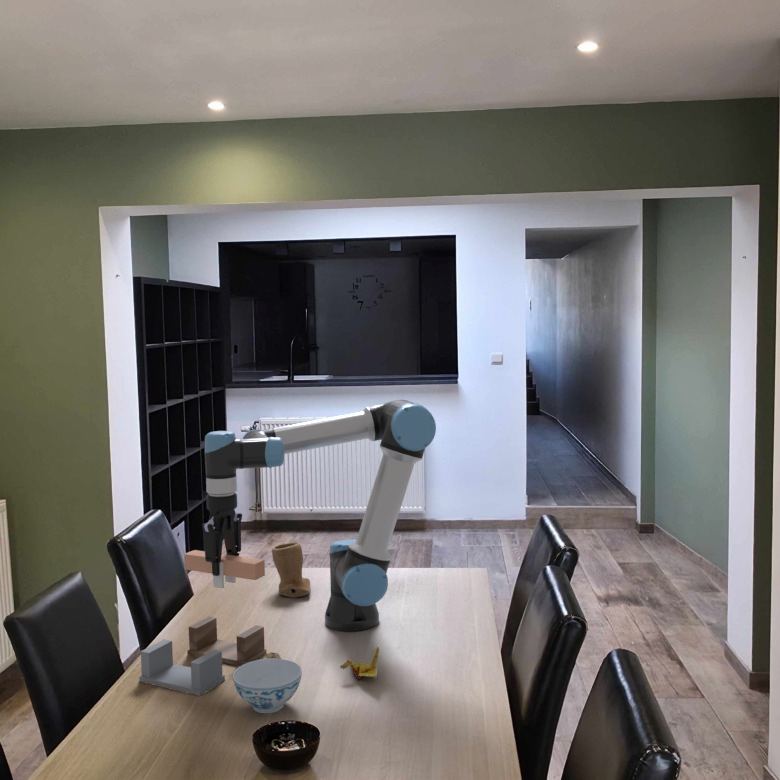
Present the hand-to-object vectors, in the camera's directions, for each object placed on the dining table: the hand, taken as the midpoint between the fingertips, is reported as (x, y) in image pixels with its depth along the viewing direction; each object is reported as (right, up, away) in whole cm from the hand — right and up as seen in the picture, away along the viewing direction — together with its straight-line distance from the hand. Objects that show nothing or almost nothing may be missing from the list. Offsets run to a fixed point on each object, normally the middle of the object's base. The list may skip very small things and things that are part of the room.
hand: (224, 584), depth 208 cm
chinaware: (+15, -21, -27) cm, 37 cm away
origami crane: (+36, -19, -13) cm, 43 cm away
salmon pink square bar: (0, +3, 0) cm, 3 cm away
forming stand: (-7, -20, -13) cm, 25 cm away
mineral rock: (+11, -19, -8) cm, 24 cm away
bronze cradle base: (0, -18, +2) cm, 18 cm away
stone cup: (+11, -14, +50) cm, 53 cm away
